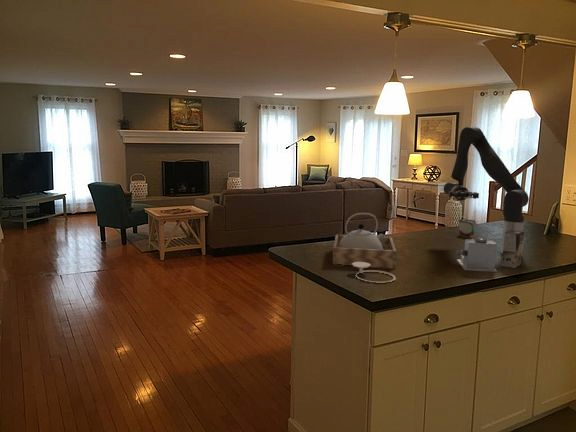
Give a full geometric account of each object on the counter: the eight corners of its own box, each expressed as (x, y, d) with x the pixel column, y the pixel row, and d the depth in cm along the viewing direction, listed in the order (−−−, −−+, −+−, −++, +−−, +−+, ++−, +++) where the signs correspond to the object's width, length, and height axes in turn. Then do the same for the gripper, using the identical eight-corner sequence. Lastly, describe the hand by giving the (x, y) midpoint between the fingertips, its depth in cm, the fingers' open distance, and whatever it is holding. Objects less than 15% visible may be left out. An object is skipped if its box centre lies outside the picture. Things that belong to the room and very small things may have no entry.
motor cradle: (486, 262, 227) (489, 234, 224) (497, 271, 210) (499, 241, 208) (450, 260, 229) (452, 232, 227) (457, 269, 212) (459, 239, 210)
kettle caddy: (390, 252, 242) (391, 237, 241) (395, 268, 213) (396, 251, 211) (335, 249, 246) (335, 234, 245) (332, 264, 217) (333, 247, 215)
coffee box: (515, 268, 216) (519, 234, 214) (501, 265, 220) (504, 232, 218) (520, 264, 223) (524, 231, 221) (506, 262, 227) (509, 229, 225)
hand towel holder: (378, 277, 186) (340, 265, 201) (377, 287, 186) (340, 275, 202) (404, 269, 196) (367, 259, 212) (404, 279, 197) (366, 268, 213)
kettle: (371, 251, 245) (373, 208, 241) (396, 262, 224) (399, 215, 221) (328, 254, 236) (330, 210, 232) (350, 266, 215) (352, 217, 211)
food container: (480, 238, 281) (481, 222, 279) (471, 239, 278) (473, 222, 277) (465, 234, 292) (466, 218, 290) (457, 235, 290) (458, 219, 288)
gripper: (446, 185, 251) (452, 188, 236) (474, 186, 249) (482, 189, 234) (445, 199, 253) (451, 203, 237) (473, 200, 251) (480, 204, 235)
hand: (466, 196), depth 235 cm, fingers open, 8 cm apart
